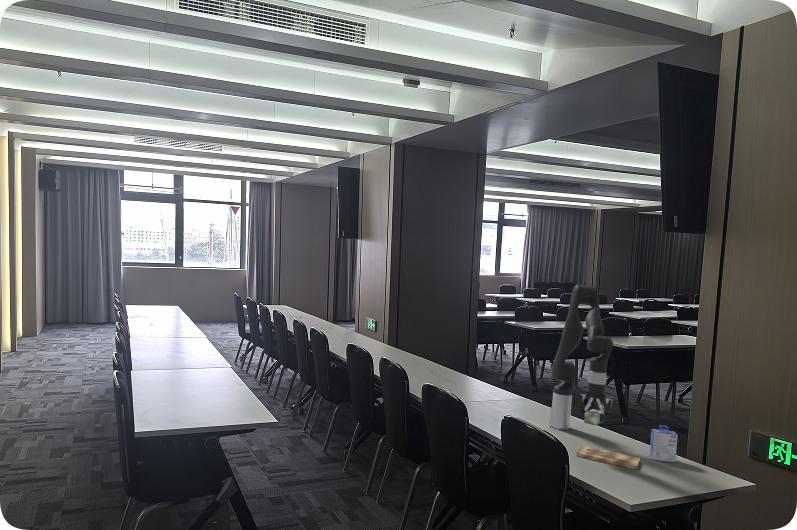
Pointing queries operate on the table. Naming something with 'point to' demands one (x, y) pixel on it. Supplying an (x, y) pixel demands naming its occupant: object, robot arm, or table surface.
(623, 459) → the tan wooden board
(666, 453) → the ink cartridge box
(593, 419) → the block
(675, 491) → the table surface
